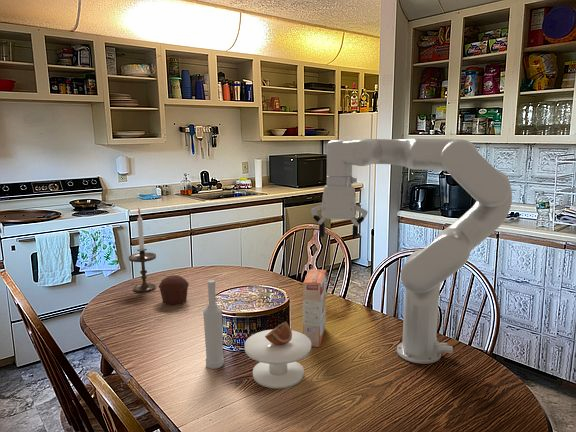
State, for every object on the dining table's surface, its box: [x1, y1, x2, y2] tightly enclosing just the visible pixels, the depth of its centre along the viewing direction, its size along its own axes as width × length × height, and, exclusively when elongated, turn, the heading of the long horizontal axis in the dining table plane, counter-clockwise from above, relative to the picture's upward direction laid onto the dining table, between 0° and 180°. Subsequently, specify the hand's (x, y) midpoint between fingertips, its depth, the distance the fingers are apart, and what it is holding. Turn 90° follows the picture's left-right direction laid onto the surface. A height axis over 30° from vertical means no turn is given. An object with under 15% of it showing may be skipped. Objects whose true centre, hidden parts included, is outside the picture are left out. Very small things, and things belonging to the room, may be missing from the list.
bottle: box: [202, 279, 225, 370], centre depth 126 cm, size 5×5×25 cm
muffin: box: [158, 275, 190, 306], centre depth 175 cm, size 12×11×10 cm
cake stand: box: [244, 328, 312, 390], centre depth 122 cm, size 18×18×9 cm
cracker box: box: [302, 268, 327, 348], centre depth 142 cm, size 14×6×21 cm, turn 168°
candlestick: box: [128, 207, 157, 294], centre depth 186 cm, size 11×11×35 cm
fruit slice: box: [265, 321, 292, 345], centre depth 121 cm, size 8×7×5 cm
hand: (338, 237), depth 137 cm, fingers open, 9 cm apart
